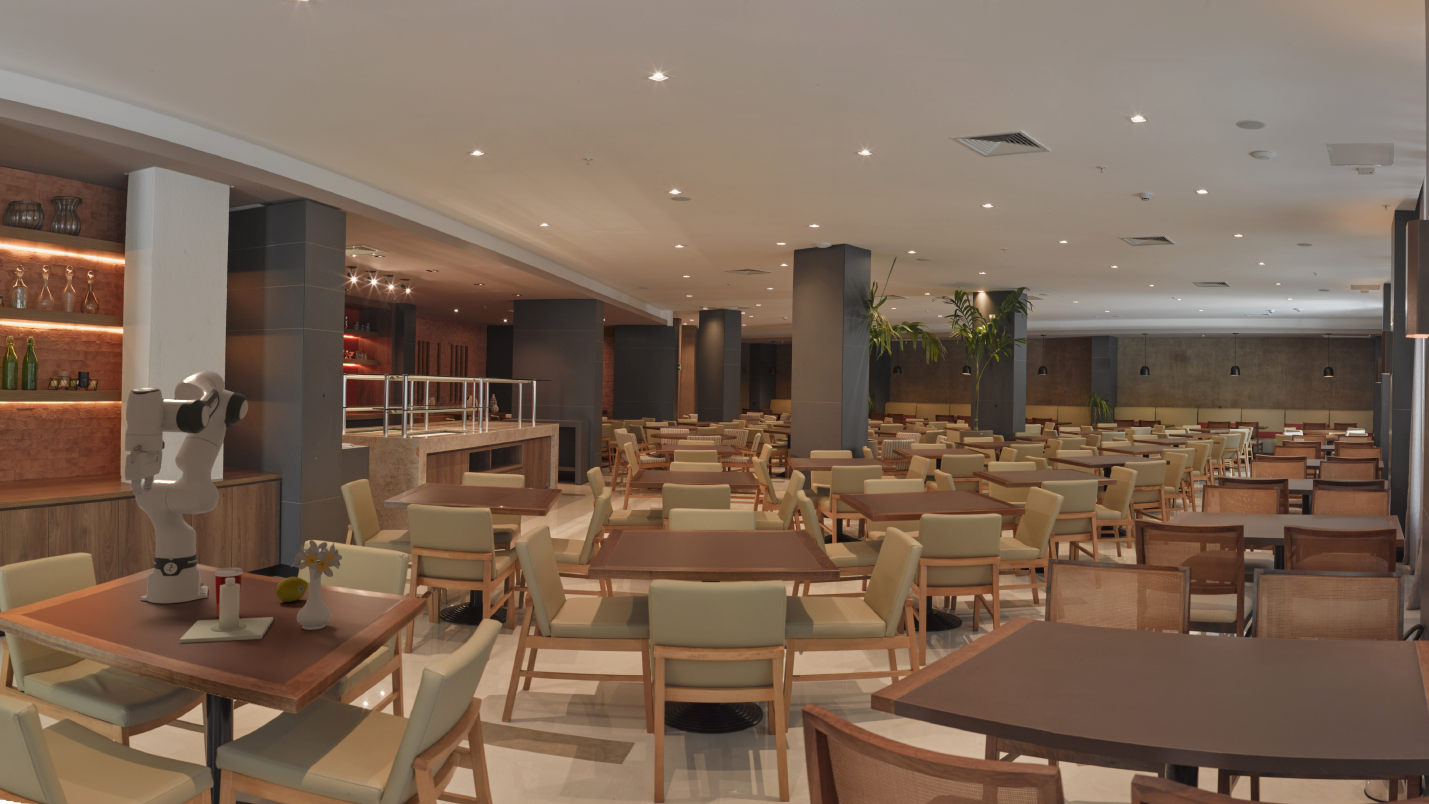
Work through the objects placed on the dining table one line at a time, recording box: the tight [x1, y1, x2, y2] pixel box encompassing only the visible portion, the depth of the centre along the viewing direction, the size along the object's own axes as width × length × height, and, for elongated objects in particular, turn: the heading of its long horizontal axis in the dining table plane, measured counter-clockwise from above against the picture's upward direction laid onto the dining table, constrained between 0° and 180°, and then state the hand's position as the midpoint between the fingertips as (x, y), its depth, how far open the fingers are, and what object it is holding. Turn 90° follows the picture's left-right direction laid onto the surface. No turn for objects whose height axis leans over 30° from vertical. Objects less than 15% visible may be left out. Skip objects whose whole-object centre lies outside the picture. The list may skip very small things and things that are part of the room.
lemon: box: [275, 576, 309, 603], centre depth 281 cm, size 11×8×8 cm
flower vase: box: [290, 539, 343, 631], centre depth 252 cm, size 13×18×25 cm
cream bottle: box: [218, 578, 241, 629], centre depth 245 cm, size 5×5×14 cm
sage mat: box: [179, 616, 274, 644], centre depth 245 cm, size 20×20×1 cm
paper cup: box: [214, 567, 244, 618], centre depth 262 cm, size 8×8×14 cm
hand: (142, 493), depth 243 cm, fingers open, 8 cm apart
